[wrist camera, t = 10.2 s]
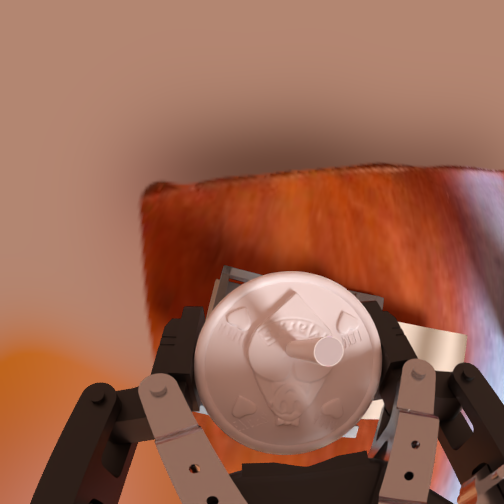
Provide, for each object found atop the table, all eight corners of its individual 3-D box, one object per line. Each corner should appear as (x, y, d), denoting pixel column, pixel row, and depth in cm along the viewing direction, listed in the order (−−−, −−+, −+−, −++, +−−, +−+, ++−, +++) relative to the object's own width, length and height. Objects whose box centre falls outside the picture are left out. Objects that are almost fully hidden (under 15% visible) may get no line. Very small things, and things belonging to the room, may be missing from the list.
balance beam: (457, 328, 24) (476, 326, 22) (440, 420, 21) (459, 425, 19) (217, 272, 22) (220, 264, 19) (186, 399, 19) (185, 409, 16)
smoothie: (322, 308, 19) (456, 228, 6) (317, 405, 17) (442, 497, 4) (224, 303, 19) (168, 203, 6) (216, 401, 17) (146, 511, 4)
